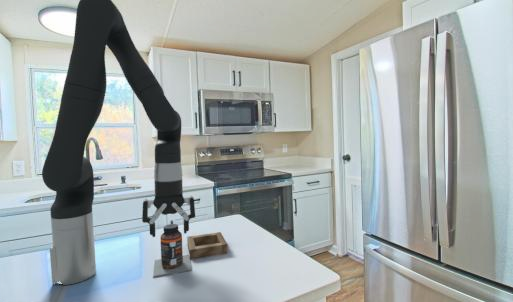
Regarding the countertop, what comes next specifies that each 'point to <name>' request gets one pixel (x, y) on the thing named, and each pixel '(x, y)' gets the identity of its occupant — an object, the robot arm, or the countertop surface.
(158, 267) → the mat
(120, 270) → the countertop surface
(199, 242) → the socket collar
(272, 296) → the countertop surface
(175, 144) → the robot arm
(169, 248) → the supplement bottle
